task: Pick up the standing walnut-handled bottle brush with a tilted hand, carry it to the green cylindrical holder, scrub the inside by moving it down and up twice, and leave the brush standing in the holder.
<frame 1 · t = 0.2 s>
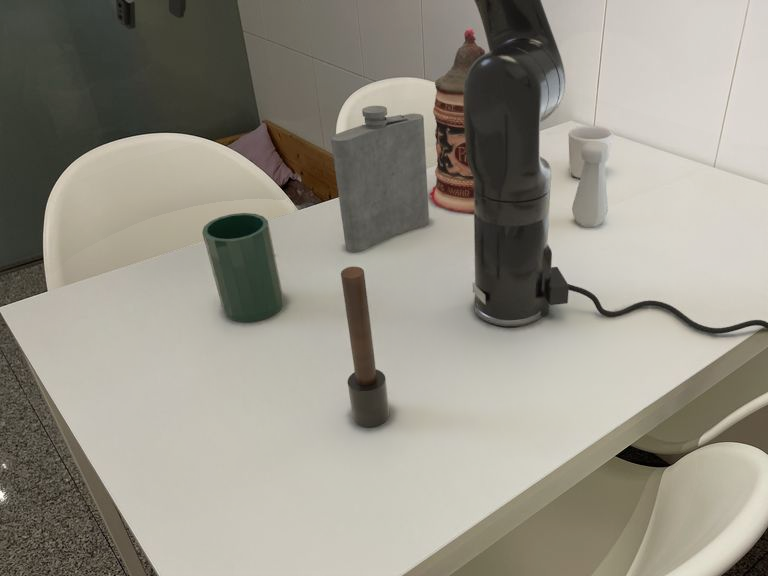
hand: (152, 20, 98), 31 cm above the table, tool tilted 20°, fingers open, 8 cm apart
green cylindrical holder: (254, 306, 95), on the table
hip flask: (387, 235, 113), on the table
beer stein: (474, 193, 126), on the table
bottle brush: (371, 415, 77), on the table
salt shaker: (588, 222, 115), on the table
cup: (587, 178, 130), on the table
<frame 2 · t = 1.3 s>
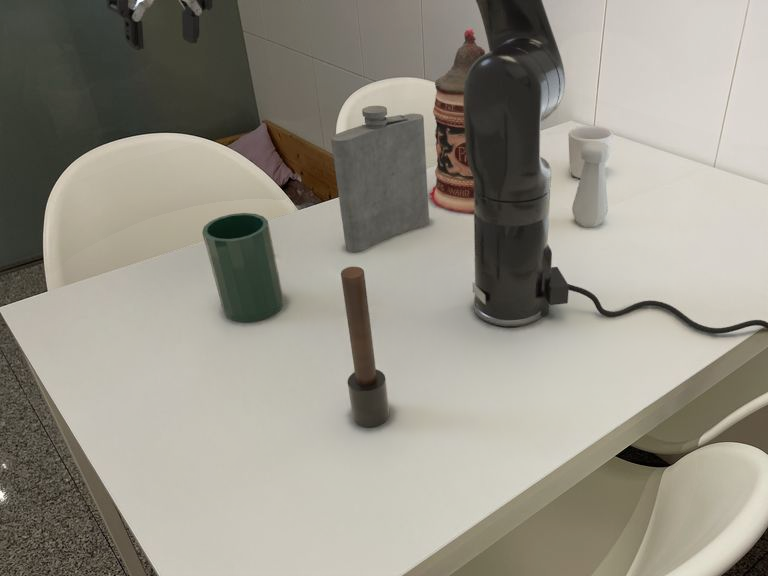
hand: (164, 44, 96), 29 cm above the table, tool pointing down, fingers open, 8 cm apart
nothing on the table moved.
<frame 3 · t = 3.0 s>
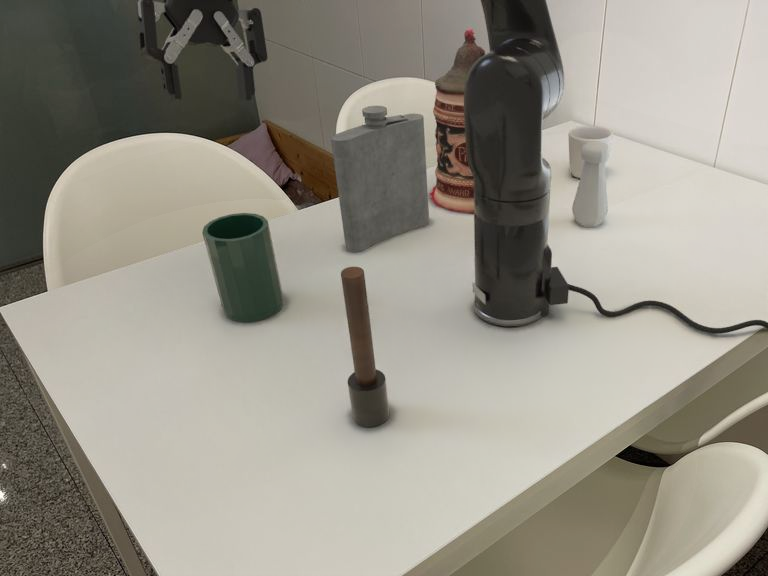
hand: (211, 100, 84), 26 cm above the table, tool tilted 20°, fingers open, 8 cm apart
nothing on the table moved.
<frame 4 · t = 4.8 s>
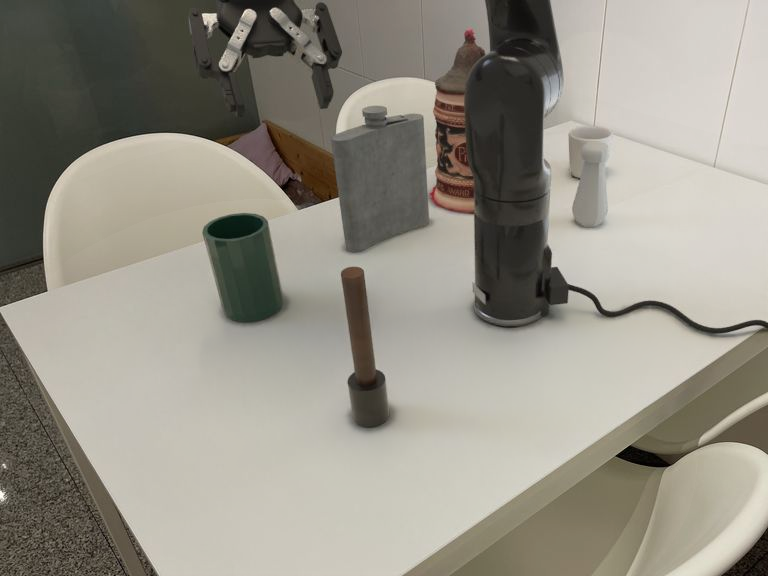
hand: (284, 109, 70), 29 cm above the table, tool tilted 40°, fingers open, 8 cm apart
nothing on the table moved.
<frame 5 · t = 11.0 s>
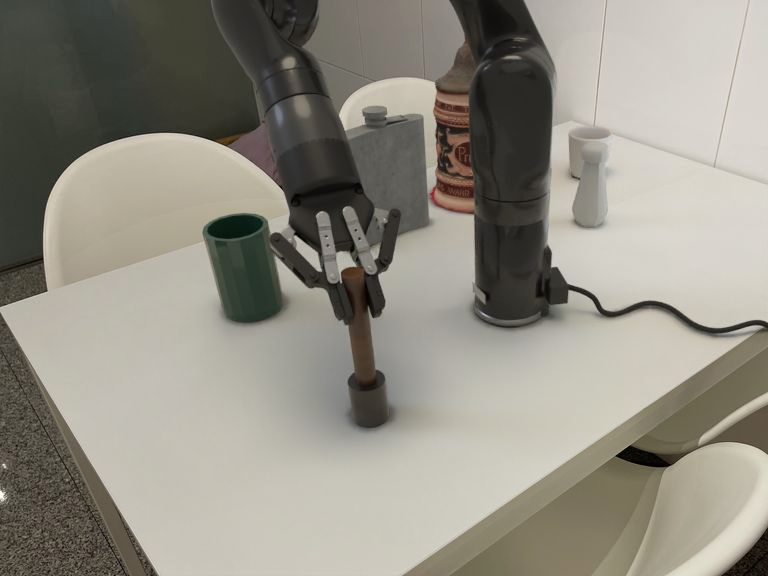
hand: (363, 318, 67), 14 cm above the table, tool tilted 45°, fingers closed on bottle brush, 2 cm apart
bottle brush: (371, 415, 77), on the table, touching gripper
everything else where it was.
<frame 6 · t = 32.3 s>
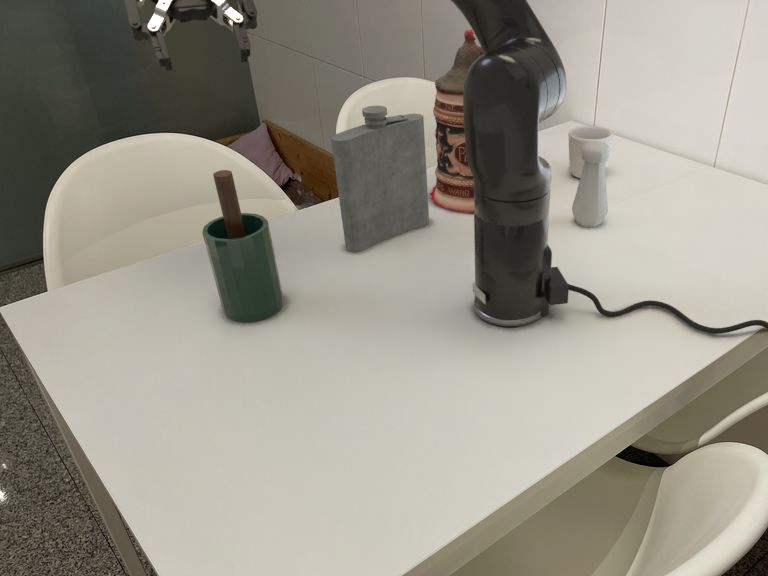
hand: (207, 62, 81), 31 cm above the table, tool tilted 45°, fingers open, 8 cm apart
bottle brush: (252, 300, 95), point 1 cm above the table, touching green cylindrical holder
everything else where it was.
at the end: bottle brush 0.1 cm off-centre in the green cylindrical holder, point 1.0 cm above the green cylindrical holder's base; bottle brush moved 29.6 cm from its start; the gripper is holding nothing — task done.
